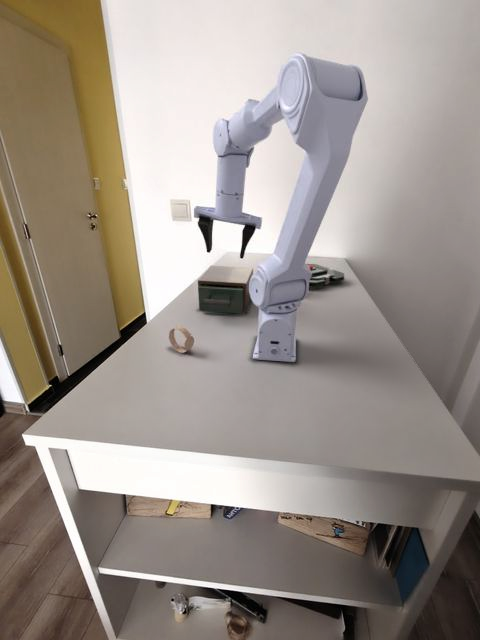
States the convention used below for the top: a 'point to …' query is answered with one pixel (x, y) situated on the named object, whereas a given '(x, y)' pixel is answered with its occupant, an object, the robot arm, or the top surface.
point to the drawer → (221, 298)
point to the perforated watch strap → (187, 343)
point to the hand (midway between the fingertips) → (225, 253)
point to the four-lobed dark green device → (323, 275)
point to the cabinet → (229, 279)
